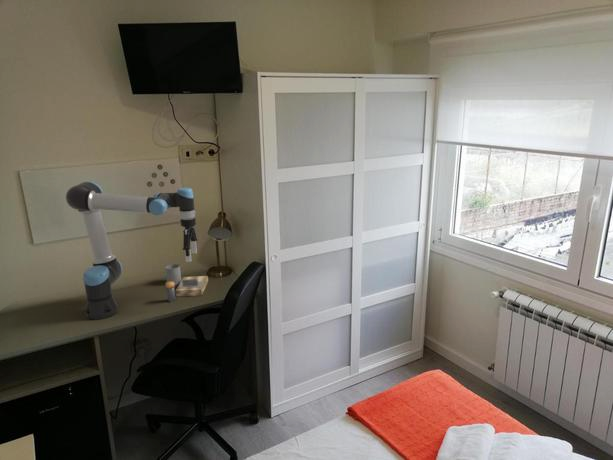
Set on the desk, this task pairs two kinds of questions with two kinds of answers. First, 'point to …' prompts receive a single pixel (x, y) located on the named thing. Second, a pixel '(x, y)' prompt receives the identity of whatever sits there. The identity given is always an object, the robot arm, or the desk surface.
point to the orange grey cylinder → (170, 291)
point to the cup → (173, 273)
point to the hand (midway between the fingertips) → (191, 257)
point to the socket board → (192, 290)
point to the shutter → (190, 283)
